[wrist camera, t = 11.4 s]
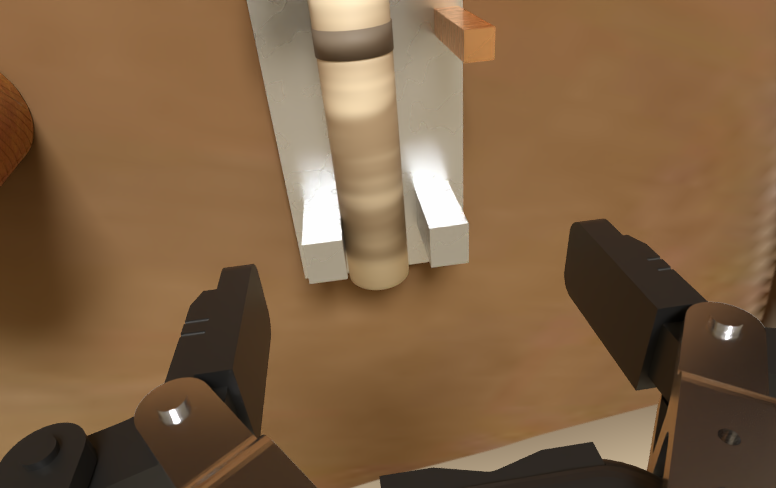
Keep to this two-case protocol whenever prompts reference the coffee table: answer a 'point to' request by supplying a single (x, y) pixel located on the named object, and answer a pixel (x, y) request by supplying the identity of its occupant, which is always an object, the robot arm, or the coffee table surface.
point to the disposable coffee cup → (13, 128)
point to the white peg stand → (415, 120)
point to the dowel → (363, 135)
